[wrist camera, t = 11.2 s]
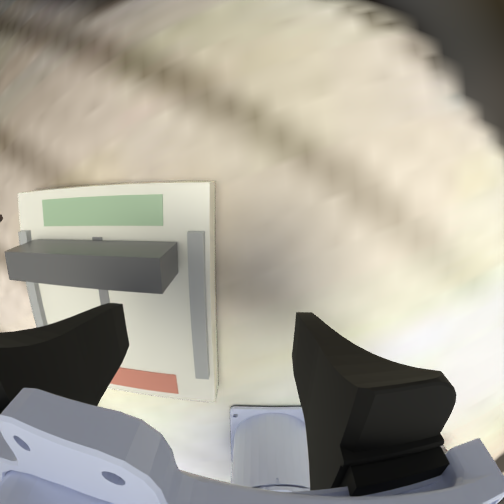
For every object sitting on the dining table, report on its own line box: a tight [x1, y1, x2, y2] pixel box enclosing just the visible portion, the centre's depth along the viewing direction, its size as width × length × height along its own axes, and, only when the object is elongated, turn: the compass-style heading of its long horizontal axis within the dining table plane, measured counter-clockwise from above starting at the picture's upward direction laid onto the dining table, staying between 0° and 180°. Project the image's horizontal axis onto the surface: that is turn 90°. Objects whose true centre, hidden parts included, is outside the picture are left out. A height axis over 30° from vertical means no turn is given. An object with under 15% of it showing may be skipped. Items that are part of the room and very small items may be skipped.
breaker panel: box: [18, 181, 219, 402], centre depth 21 cm, size 17×16×3 cm
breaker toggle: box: [5, 239, 178, 294], centre depth 17 cm, size 2×12×4 cm, turn 89°
